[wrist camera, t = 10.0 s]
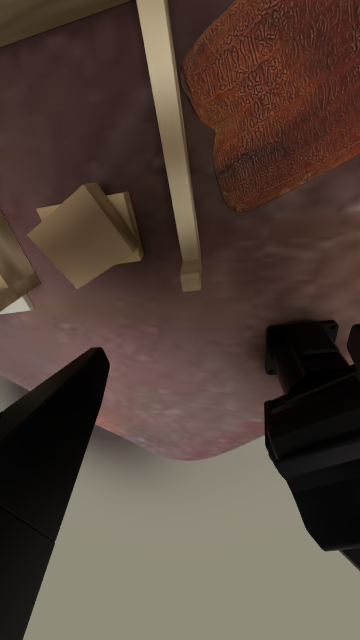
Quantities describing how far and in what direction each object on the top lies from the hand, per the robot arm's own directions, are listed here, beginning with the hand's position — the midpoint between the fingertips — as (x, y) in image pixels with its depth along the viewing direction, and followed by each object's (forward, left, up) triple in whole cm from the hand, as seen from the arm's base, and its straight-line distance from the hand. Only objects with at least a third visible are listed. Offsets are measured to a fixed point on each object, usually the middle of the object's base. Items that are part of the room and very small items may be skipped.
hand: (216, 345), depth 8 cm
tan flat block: (+3, +9, -11) cm, 15 cm away
